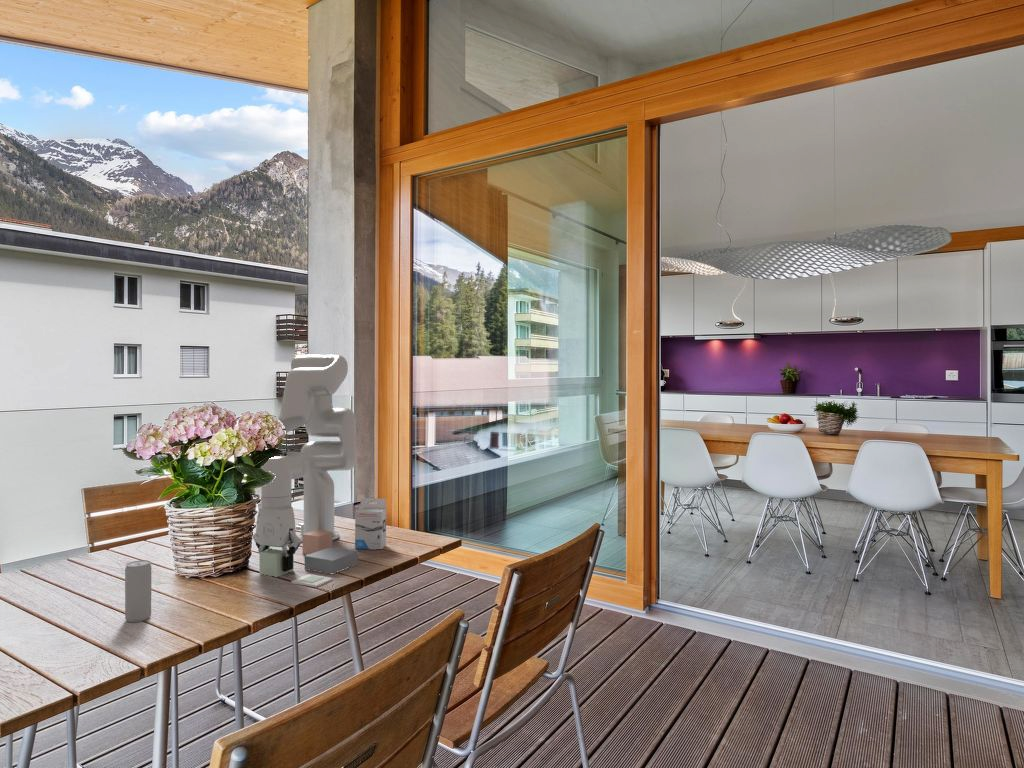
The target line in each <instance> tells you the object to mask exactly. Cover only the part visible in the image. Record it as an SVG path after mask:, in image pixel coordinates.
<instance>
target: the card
mask: <svg viewBox="0 0 1024 768" xmlns="http://www.w3.org/2000/svg"><path fill="white" fill-rule="evenodd" d="M332 579H333V577H329V576H328V577H327V576H322V575H317V574H316V575H315V574H309V573H308V574H306V575H303V576H301V577H298V578H296V579H293V580H291V584H295V585H301V586H307V587H310V588H311V587H313V588H318V587H320V586H322V585H321V584H323V585H325V584H327V583H329V582H331V581H330V580H332ZM328 581H329V582H328ZM332 581H333V580H332ZM326 582H327V583H326ZM324 583H325V584H324ZM319 585H320V586H319ZM317 586H318V587H317Z"/></svg>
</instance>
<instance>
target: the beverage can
mask: <svg viewBox="0 0 1024 768" xmlns="http://www.w3.org/2000/svg"><path fill="white" fill-rule="evenodd" d="M124 603H125V604H124V610H125V611H124V614H125V615H124V616H125V617H124V618H125V620H126V621H127V622H128V623H133V624H135V623H141V622H144V621H147V620H148V619H150V617H151V616H152V563H151V560H147V559H146V560H145V559H144V560H143V559H141V560H134V561H130V562H128V563H126V564H125V568H124Z"/></svg>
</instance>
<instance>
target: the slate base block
mask: <svg viewBox="0 0 1024 768" xmlns="http://www.w3.org/2000/svg"><path fill="white" fill-rule="evenodd" d="M357 563H358V564H359V550H356V549H355V550H353V549H349V548H341V547H334V546H332V547H329V548H326V549H323V550H320V551H317V552H314V553H311V554H308V555H304V570H306V569H310V570H309V571H312V570H316V571H315V572H317V571H321V572H320V573H323V572H327V573H326V574H328V573H335V572H337V571H340V570H342V569H345V568H347V567H350V566H352V565H355V564H357ZM358 564H357V565H358ZM355 566H356V565H355ZM352 567H353V566H352ZM350 568H351V567H350ZM347 569H348V568H347ZM345 570H346V569H345ZM342 571H343V570H342ZM340 572H341V571H340ZM337 573H338V572H337ZM335 574H336V573H335Z"/></svg>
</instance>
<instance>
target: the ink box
mask: <svg viewBox="0 0 1024 768" xmlns="http://www.w3.org/2000/svg"><path fill="white" fill-rule="evenodd" d="M386 500H387V499H386V498H375V497H373V498H372V497H368V498H367V497H366V498H365V497H362V498H360V507H359V509H356V510H355V512H354V514H355V515H354V516H355V518H354V519H355V520H354V527H355V529H354V530H355V531H354V548H355V550H376V549H382V550H383V549H384V548H385V547H386V545H387V506H386V505H387V501H386ZM372 502H374V503H372Z"/></svg>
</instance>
